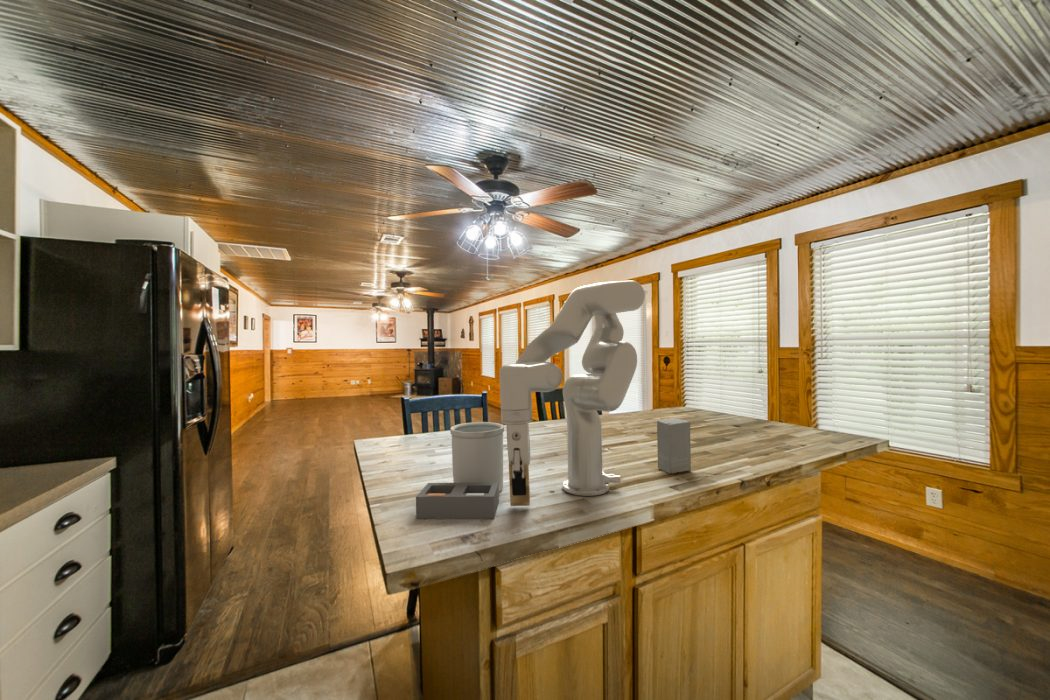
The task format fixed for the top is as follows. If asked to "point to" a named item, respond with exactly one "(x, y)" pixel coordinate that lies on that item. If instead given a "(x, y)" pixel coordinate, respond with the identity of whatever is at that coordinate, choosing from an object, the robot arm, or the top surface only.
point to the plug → (520, 499)
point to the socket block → (457, 501)
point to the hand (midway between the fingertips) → (519, 490)
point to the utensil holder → (477, 453)
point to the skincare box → (674, 445)
